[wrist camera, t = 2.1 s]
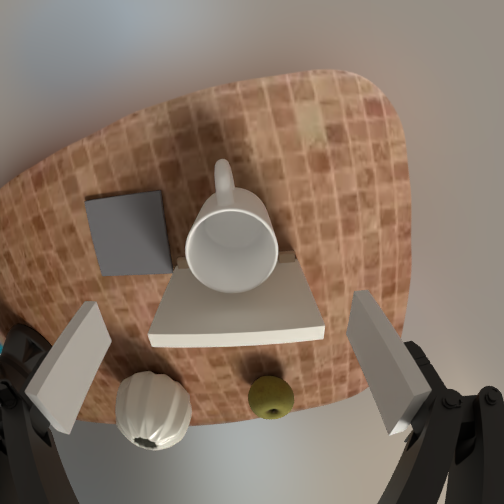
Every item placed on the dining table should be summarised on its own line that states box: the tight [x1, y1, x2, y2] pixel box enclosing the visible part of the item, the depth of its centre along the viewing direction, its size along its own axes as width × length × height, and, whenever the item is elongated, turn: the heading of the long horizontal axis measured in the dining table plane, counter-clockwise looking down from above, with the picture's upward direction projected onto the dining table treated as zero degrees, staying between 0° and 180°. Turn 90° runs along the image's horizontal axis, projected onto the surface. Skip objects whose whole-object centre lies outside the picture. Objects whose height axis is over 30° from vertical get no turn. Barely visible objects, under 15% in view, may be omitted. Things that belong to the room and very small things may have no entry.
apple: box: [248, 376, 294, 419], centre depth 43 cm, size 8×8×7 cm
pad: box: [85, 190, 173, 276], centre depth 34 cm, size 11×11×1 cm
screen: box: [148, 251, 325, 347], centre depth 30 cm, size 16×4×14 cm, turn 93°
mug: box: [185, 159, 278, 293], centre depth 28 cm, size 12×8×10 cm
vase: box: [116, 371, 192, 450], centre depth 40 cm, size 14×14×13 cm
